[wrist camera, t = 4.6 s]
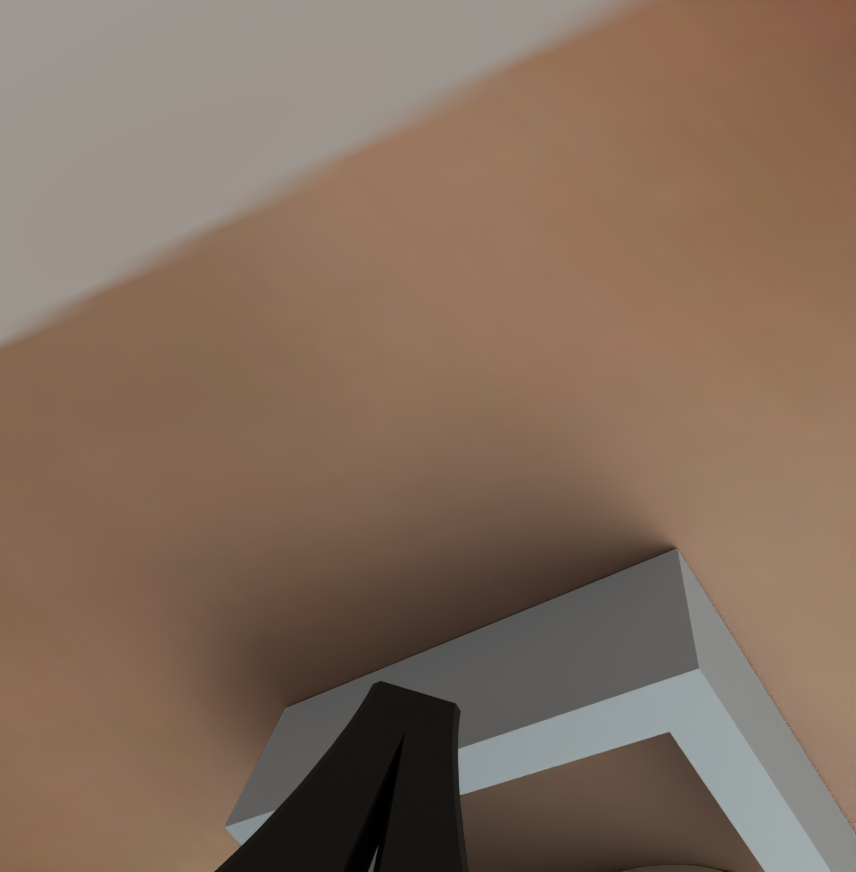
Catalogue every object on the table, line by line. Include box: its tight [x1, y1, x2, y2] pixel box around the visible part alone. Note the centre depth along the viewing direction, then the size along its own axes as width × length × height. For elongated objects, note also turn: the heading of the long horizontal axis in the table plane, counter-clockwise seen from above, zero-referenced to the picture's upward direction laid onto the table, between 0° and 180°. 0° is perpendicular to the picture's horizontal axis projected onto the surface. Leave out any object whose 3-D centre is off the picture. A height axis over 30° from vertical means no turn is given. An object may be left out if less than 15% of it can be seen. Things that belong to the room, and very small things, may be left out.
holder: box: [224, 548, 856, 872], centre depth 16 cm, size 11×10×3 cm
